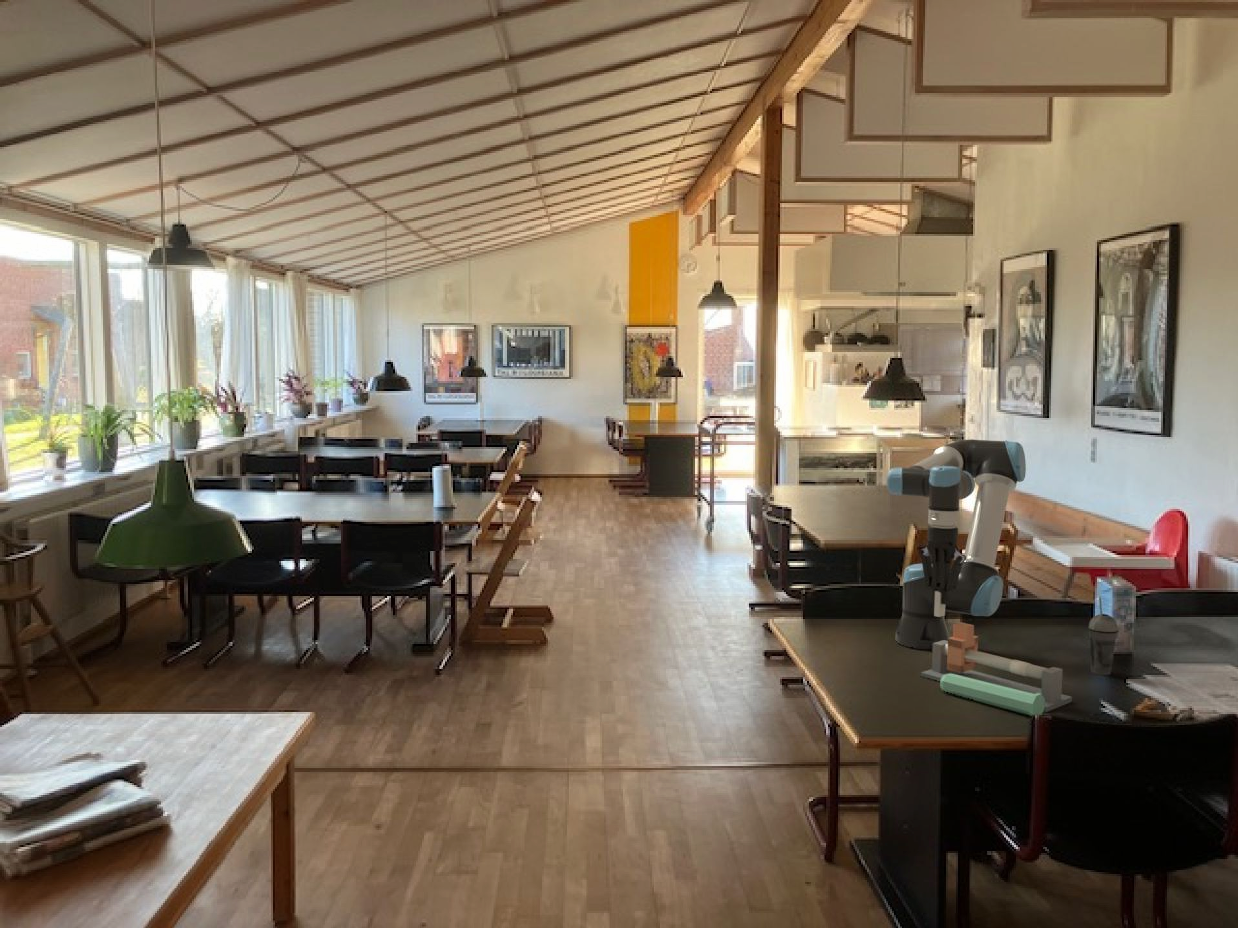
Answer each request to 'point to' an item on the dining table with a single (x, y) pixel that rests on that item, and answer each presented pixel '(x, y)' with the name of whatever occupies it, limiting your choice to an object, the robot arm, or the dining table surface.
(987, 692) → the light green long prism
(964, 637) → the collar
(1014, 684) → the rail
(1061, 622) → the dining table surface
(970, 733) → the dining table surface
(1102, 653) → the beverage cup
